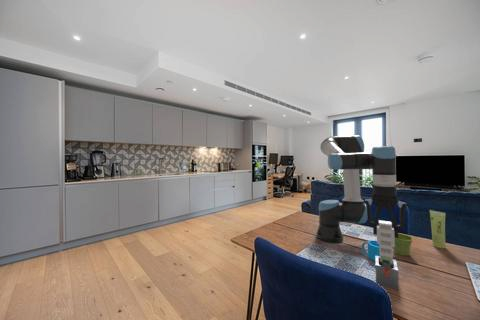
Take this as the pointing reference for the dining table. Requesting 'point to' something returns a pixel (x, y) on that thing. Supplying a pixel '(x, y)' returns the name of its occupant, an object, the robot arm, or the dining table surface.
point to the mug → (372, 249)
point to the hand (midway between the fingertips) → (385, 244)
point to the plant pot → (403, 244)
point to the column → (385, 242)
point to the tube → (438, 228)
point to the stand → (387, 273)
